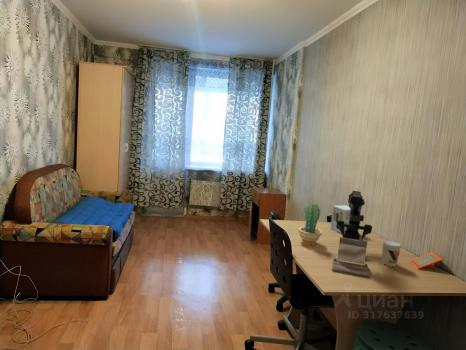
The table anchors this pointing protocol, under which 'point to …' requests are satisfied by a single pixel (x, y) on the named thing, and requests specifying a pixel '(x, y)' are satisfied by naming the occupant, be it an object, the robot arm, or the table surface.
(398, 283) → the table surface
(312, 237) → the potted cactus
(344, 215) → the supplement box
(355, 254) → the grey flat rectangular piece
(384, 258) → the coffee cup
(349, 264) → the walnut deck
